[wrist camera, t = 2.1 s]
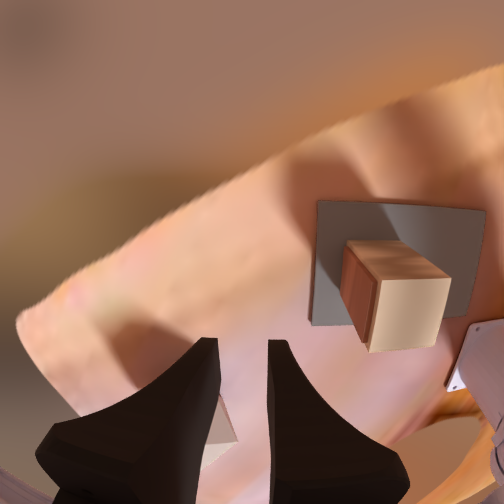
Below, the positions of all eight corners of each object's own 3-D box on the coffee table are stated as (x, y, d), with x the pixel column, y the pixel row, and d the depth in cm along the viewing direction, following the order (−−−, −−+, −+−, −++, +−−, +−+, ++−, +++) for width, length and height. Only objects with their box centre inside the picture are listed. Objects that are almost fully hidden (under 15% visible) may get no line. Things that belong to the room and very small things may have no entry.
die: (217, 343, 24) (112, 390, 16) (276, 429, 21) (183, 498, 14) (182, 373, 28) (100, 409, 21) (227, 441, 26) (152, 489, 19)
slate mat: (483, 210, 18) (486, 211, 18) (463, 313, 21) (465, 315, 20) (317, 200, 19) (318, 201, 19) (311, 323, 22) (311, 326, 21)
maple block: (400, 240, 19) (451, 278, 12) (392, 293, 20) (433, 346, 14) (342, 239, 19) (376, 280, 13) (337, 295, 20) (363, 353, 14)
